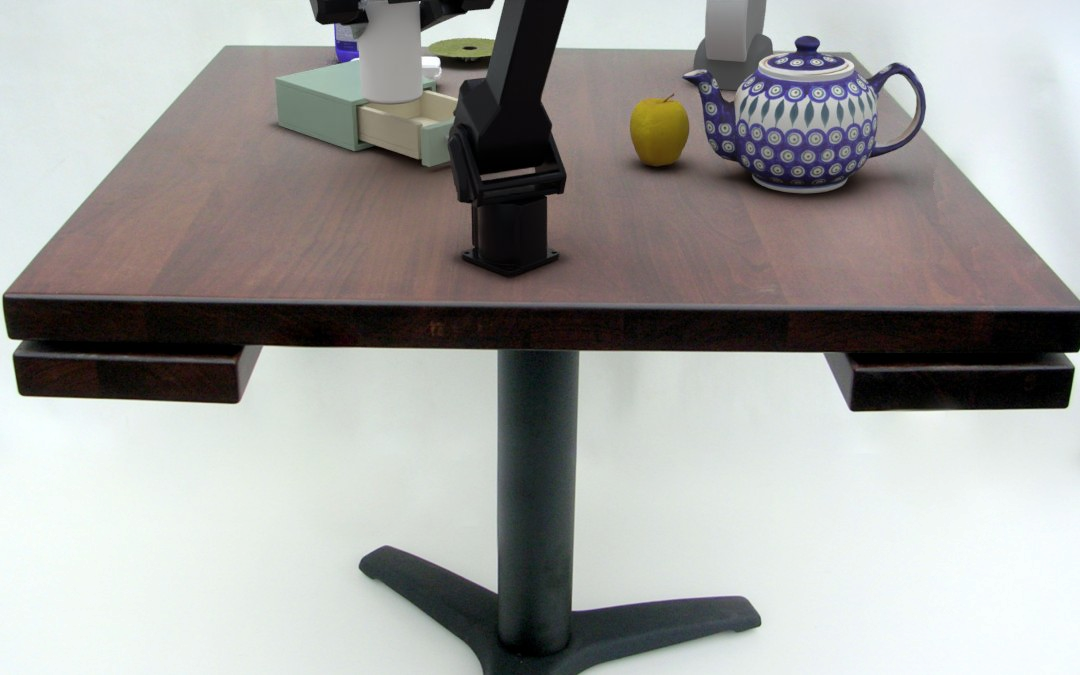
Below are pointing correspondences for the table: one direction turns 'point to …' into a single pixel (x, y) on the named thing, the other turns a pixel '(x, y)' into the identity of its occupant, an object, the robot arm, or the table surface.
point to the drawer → (410, 126)
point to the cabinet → (325, 103)
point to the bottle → (345, 43)
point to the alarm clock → (733, 41)
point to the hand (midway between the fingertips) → (385, 32)
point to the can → (391, 53)
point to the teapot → (802, 118)
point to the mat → (463, 48)
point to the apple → (659, 130)
